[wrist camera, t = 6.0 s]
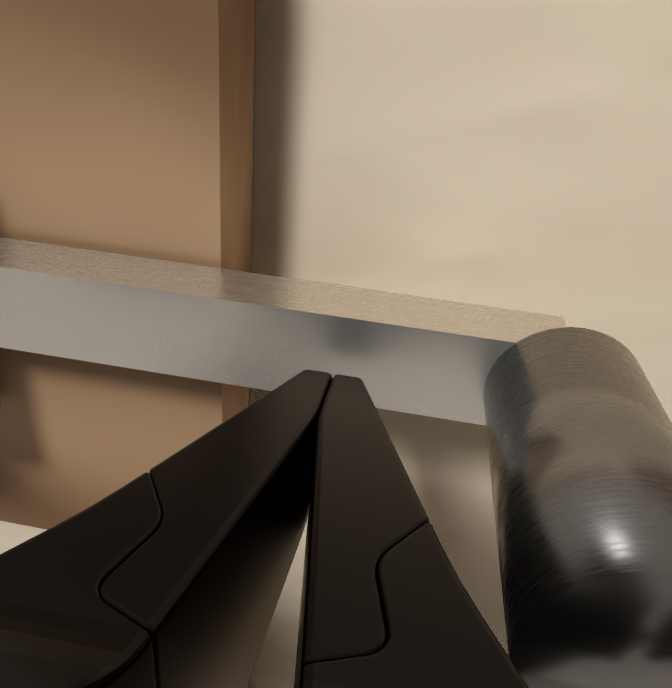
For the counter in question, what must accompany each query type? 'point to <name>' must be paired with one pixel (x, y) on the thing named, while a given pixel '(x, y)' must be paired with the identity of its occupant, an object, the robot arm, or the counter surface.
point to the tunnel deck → (118, 219)
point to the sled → (428, 400)
